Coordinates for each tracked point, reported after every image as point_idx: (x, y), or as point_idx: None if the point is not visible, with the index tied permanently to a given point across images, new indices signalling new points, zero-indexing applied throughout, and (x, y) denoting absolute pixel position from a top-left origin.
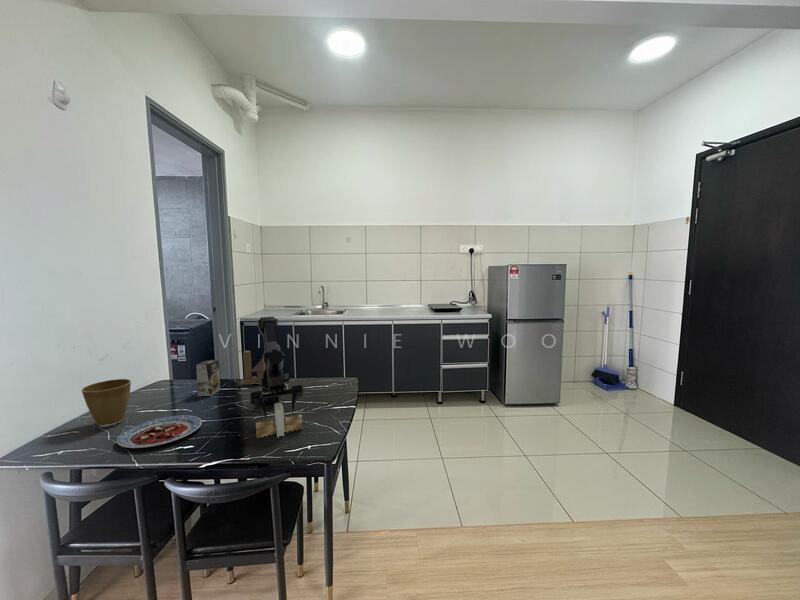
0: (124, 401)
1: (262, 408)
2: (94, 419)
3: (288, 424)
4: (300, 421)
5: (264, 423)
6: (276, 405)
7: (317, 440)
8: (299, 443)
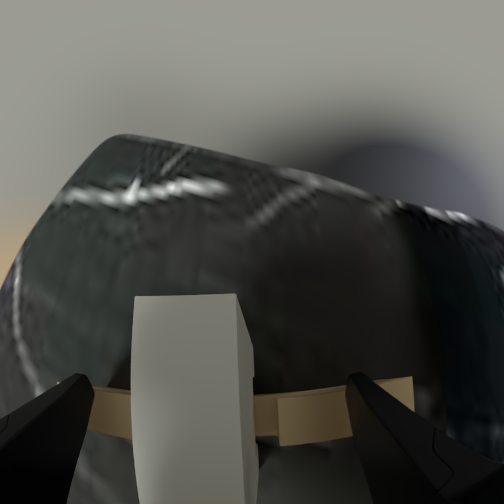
0: None
1: (429, 428)
2: None
3: None
4: None
5: None
6: (219, 500)
7: (88, 232)
8: (154, 232)
